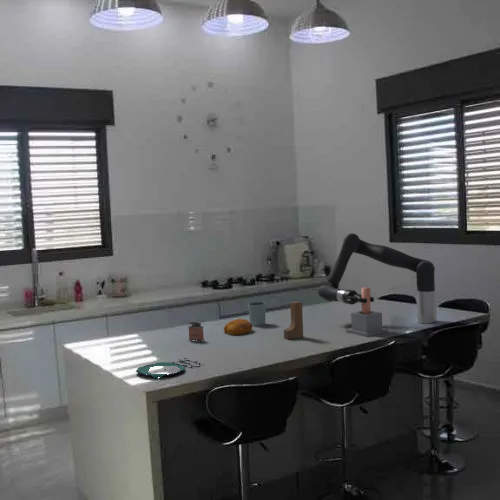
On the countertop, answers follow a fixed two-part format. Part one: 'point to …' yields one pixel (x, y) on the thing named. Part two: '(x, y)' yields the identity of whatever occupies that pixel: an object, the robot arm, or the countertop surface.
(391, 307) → the countertop surface
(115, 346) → the countertop surface
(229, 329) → the bread loaf
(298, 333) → the wooden block
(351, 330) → the block
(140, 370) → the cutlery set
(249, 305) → the drinking glass
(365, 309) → the peg
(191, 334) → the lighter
